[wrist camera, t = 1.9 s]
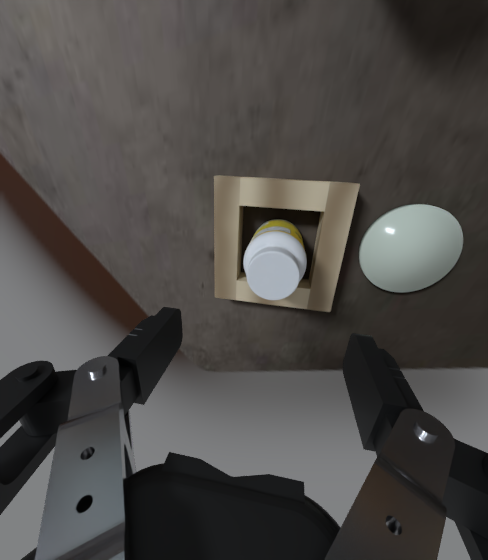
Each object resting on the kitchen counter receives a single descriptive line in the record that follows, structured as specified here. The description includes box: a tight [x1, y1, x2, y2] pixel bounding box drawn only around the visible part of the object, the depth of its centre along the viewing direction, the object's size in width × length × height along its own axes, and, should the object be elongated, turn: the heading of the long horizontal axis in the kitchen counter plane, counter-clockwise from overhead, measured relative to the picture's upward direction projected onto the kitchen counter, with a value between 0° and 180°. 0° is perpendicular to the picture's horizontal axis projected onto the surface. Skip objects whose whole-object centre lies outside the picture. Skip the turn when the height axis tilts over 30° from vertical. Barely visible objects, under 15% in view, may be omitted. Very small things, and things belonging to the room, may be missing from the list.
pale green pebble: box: [358, 204, 463, 292], centre depth 24 cm, size 9×9×1 cm
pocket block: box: [214, 176, 360, 312], centre depth 25 cm, size 13×13×2 cm
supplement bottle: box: [243, 219, 307, 300], centre depth 22 cm, size 5×5×10 cm
